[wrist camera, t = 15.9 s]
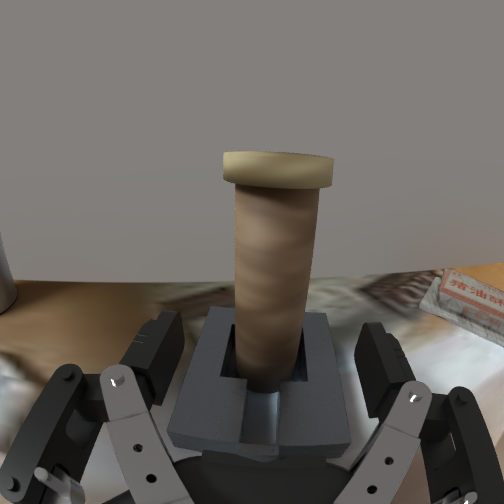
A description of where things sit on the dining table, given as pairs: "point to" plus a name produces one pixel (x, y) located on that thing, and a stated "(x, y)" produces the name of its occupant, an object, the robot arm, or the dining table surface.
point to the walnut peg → (272, 257)
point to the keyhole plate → (235, 397)
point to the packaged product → (467, 304)
